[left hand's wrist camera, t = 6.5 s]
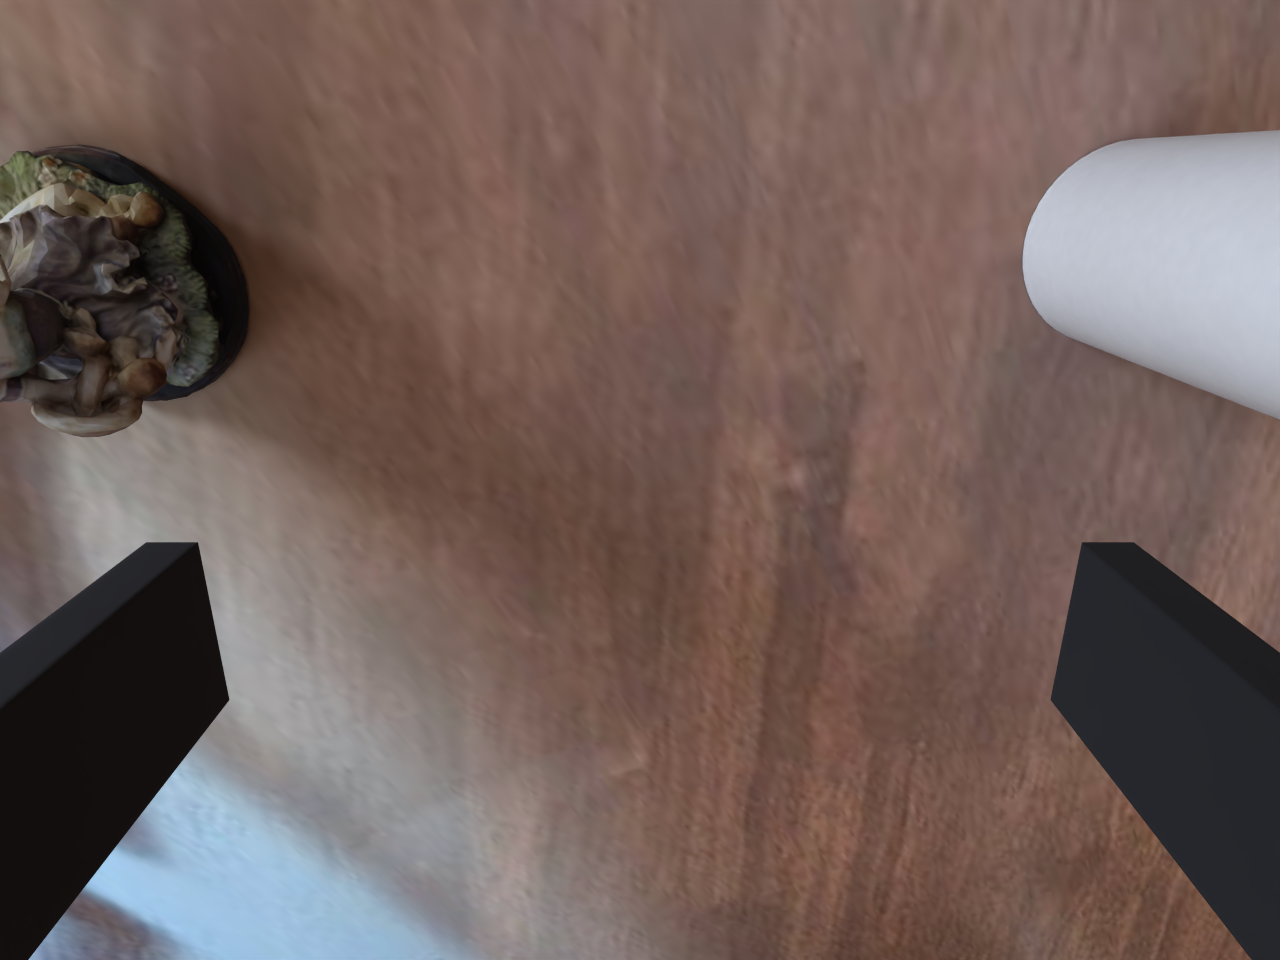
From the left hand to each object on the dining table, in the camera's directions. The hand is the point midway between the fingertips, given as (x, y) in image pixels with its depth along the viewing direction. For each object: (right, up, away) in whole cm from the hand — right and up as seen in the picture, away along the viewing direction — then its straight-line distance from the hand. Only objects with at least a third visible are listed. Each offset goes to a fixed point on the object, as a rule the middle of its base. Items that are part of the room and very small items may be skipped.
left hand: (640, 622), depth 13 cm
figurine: (-24, +11, +26) cm, 37 cm away
